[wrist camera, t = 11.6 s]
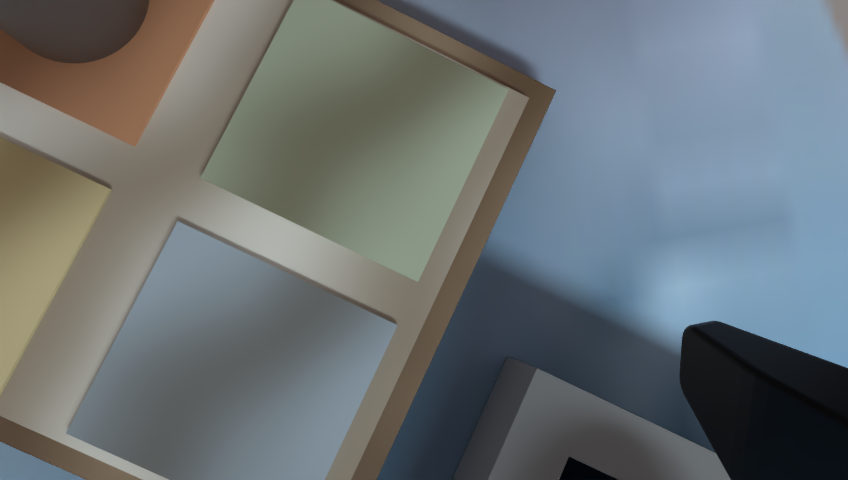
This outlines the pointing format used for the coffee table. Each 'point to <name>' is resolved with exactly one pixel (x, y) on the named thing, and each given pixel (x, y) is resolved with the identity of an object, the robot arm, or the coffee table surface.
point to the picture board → (243, 235)
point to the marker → (72, 26)
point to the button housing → (572, 435)
